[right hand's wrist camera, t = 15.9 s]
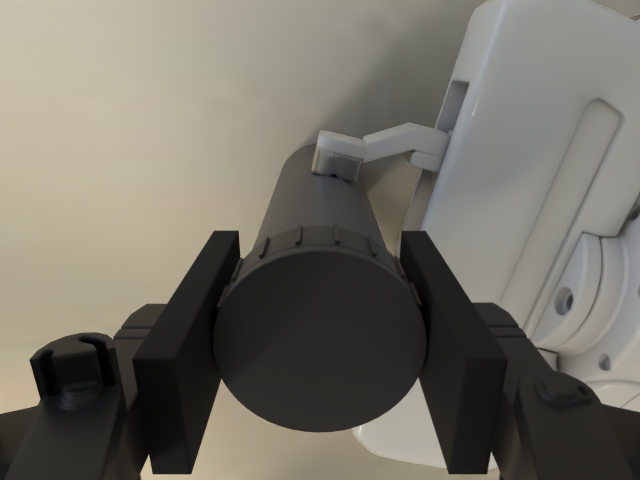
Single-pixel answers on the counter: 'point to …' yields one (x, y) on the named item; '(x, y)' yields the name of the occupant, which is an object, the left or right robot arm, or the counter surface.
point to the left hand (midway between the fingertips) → (298, 219)
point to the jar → (317, 201)
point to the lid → (319, 330)
